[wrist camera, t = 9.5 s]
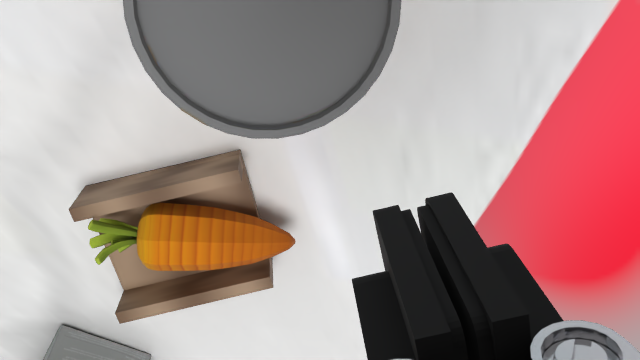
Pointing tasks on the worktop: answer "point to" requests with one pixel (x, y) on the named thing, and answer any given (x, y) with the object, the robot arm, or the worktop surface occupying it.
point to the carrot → (192, 238)
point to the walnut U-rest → (177, 188)
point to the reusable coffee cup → (263, 58)
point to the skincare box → (88, 348)
